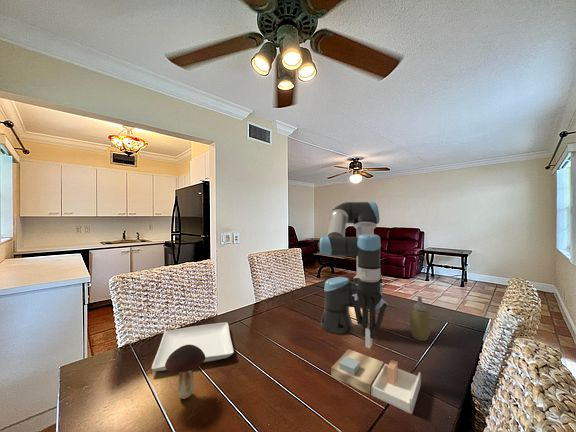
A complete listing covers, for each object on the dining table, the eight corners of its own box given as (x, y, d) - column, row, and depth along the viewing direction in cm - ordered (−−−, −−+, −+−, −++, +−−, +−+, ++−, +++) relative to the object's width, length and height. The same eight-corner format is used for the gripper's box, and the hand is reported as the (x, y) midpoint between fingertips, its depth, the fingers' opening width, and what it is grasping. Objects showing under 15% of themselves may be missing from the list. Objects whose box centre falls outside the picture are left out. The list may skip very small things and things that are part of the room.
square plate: (164, 338, 103) (164, 330, 103) (227, 329, 112) (228, 321, 112) (150, 378, 77) (150, 367, 77) (234, 362, 86) (234, 351, 86)
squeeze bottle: (433, 343, 98) (433, 301, 99) (412, 341, 100) (412, 299, 100) (426, 334, 106) (426, 295, 107) (407, 332, 108) (407, 293, 108)
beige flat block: (331, 376, 78) (331, 367, 78) (348, 356, 89) (348, 349, 89) (370, 394, 70) (370, 384, 70) (383, 370, 81) (383, 362, 81)
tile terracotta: (386, 366, 75) (393, 369, 73) (391, 359, 78) (397, 361, 77) (387, 382, 74) (393, 385, 73) (391, 374, 78) (397, 377, 77)
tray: (371, 395, 70) (371, 381, 70) (384, 371, 81) (384, 359, 81) (412, 414, 63) (412, 399, 63) (420, 385, 74) (420, 372, 74)
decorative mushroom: (209, 383, 75) (209, 336, 75) (197, 411, 64) (197, 356, 64) (175, 384, 74) (175, 337, 75) (156, 413, 63) (157, 357, 64)
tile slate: (339, 369, 77) (339, 362, 77) (345, 361, 81) (345, 355, 81) (353, 375, 74) (353, 369, 74) (359, 367, 78) (359, 361, 78)
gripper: (346, 278, 82) (346, 344, 83) (385, 285, 74) (385, 358, 75) (355, 273, 88) (355, 335, 89) (391, 279, 80) (391, 347, 80)
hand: (368, 345), depth 82 cm, fingers closed
